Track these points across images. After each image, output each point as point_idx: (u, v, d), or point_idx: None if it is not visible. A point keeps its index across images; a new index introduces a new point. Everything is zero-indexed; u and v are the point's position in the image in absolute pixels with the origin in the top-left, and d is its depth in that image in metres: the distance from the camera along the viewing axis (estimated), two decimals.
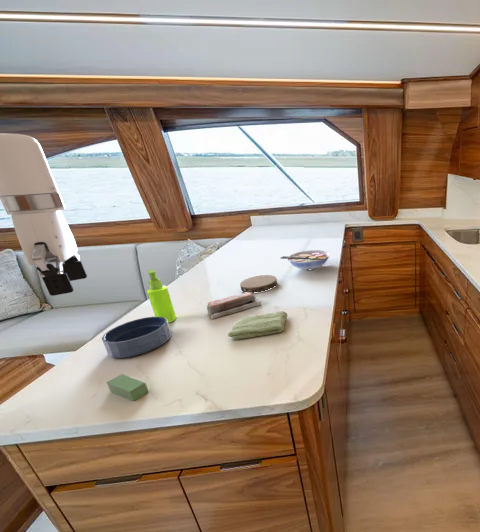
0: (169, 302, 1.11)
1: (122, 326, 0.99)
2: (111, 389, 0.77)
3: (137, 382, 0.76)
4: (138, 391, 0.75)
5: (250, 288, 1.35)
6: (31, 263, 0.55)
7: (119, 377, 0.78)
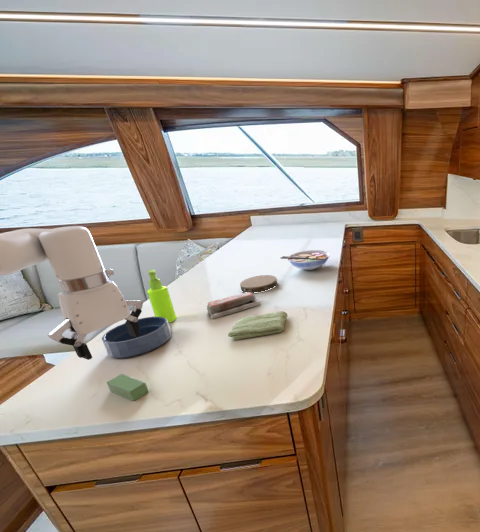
0: (169, 302, 1.11)
1: (122, 326, 0.99)
2: (111, 389, 0.77)
3: (137, 382, 0.76)
4: (138, 391, 0.75)
5: (250, 288, 1.35)
6: (70, 330, 0.67)
7: (119, 377, 0.78)
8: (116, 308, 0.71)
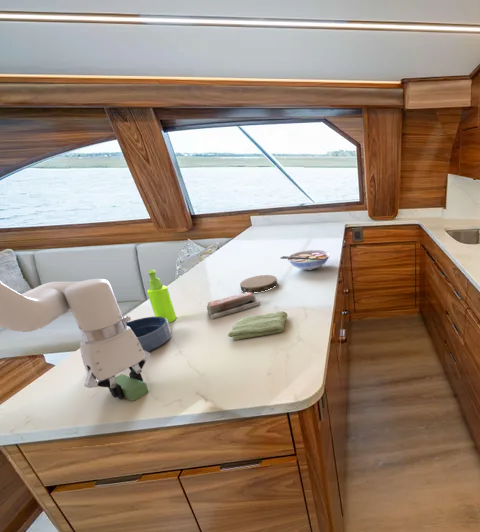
0: (169, 302, 1.11)
1: None
2: None
3: (137, 382, 0.76)
4: (138, 391, 0.75)
5: (250, 288, 1.35)
6: None
7: (119, 377, 0.78)
8: (132, 353, 0.75)
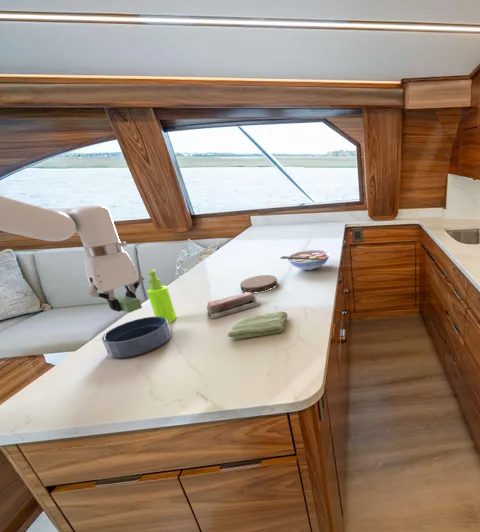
0: (169, 302, 1.11)
1: (122, 326, 0.99)
2: None
3: (132, 298, 0.90)
4: (133, 305, 0.88)
5: (250, 288, 1.35)
6: None
7: (117, 296, 0.92)
8: (128, 272, 0.89)
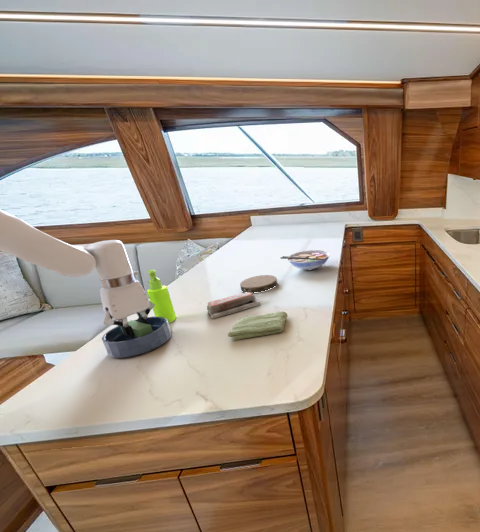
0: (169, 302, 1.11)
1: None
2: None
3: (144, 325, 0.96)
4: (145, 331, 0.94)
5: (250, 288, 1.35)
6: None
7: (129, 322, 0.98)
8: (140, 301, 0.95)
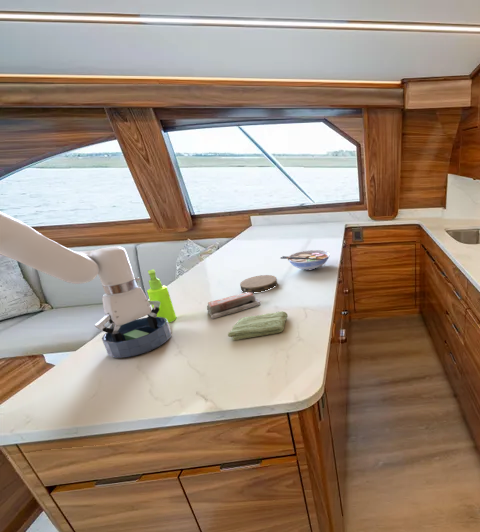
0: (169, 302, 1.11)
1: (122, 326, 0.99)
2: None
3: None
4: None
5: (250, 288, 1.35)
6: (108, 322, 0.91)
7: (133, 331, 0.99)
8: (142, 306, 0.95)
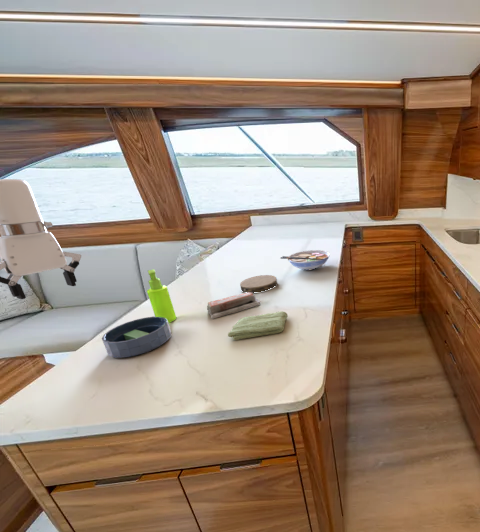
0: (169, 302, 1.11)
1: (122, 326, 0.99)
2: None
3: None
4: None
5: (250, 288, 1.35)
6: (6, 272, 0.75)
7: (133, 331, 0.99)
8: (52, 256, 0.79)
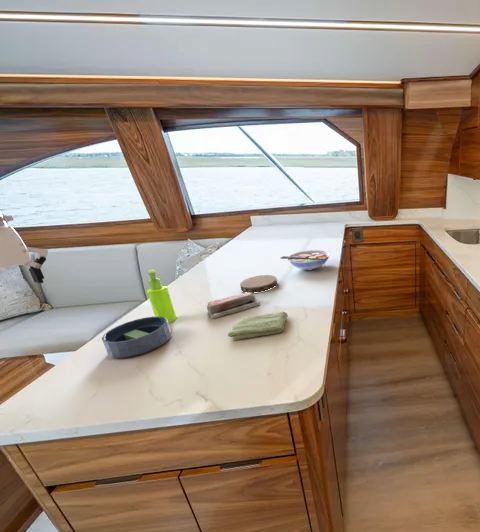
0: (169, 302, 1.11)
1: (122, 326, 0.99)
2: None
3: None
4: None
5: (250, 288, 1.35)
6: None
7: (133, 331, 0.99)
8: (14, 252, 0.75)
